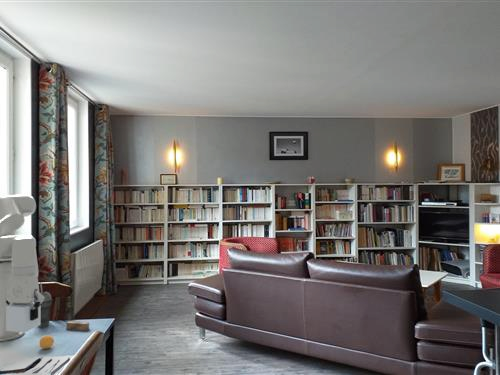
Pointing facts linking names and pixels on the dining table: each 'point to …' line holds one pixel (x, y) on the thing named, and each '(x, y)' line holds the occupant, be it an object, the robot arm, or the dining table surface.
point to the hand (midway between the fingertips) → (24, 318)
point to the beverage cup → (45, 308)
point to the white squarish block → (21, 318)
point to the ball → (46, 341)
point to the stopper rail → (77, 325)
